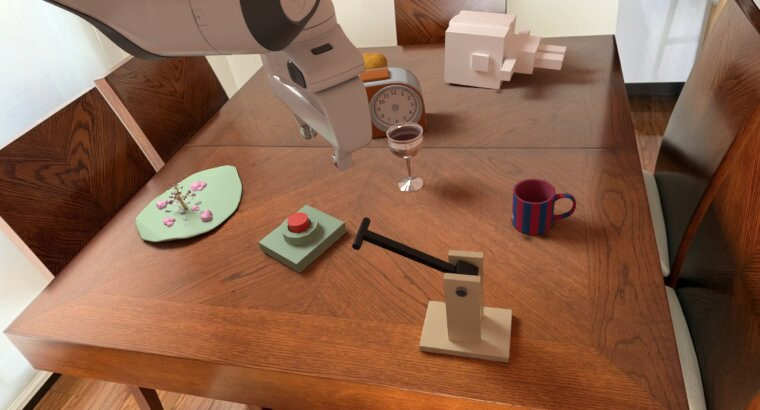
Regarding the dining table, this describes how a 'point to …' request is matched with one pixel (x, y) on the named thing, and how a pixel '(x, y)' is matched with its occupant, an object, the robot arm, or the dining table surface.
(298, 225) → the button
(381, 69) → the alarm clock
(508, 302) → the dining table surface
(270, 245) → the button box
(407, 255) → the lever
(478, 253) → the bracket
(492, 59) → the white voxel figure
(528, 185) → the mug
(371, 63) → the potato
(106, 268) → the dining table surface
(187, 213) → the plant
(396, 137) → the wineglass
